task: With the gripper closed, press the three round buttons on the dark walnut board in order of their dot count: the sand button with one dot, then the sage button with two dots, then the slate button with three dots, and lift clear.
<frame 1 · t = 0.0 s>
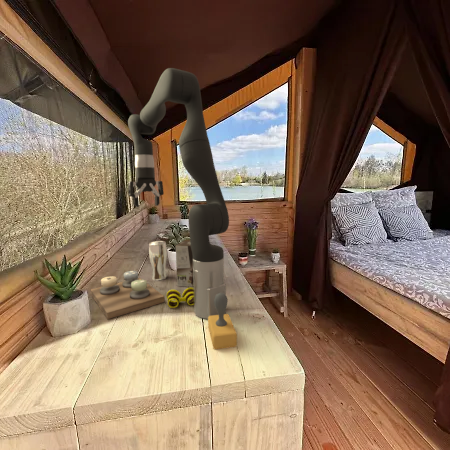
hand: (147, 206, 114), 29 cm above the counter, tool pointing down, fingers open, 8 cm apart
button 2: (139, 285, 91), point 6 cm above the counter, slide at 0.0 cm
rubber stamp: (221, 337, 71), on the counter
coffee box: (188, 282, 108), on the counter
beer glass: (159, 278, 113), on the counter
button 3: (131, 275, 100), point 6 cm above the counter, slide at 0.0 cm
button 1: (109, 281, 95), point 6 cm above the counter, slide at 0.0 cm
opera glasses: (182, 304, 89), on the counter
button board: (126, 298, 94), on the counter
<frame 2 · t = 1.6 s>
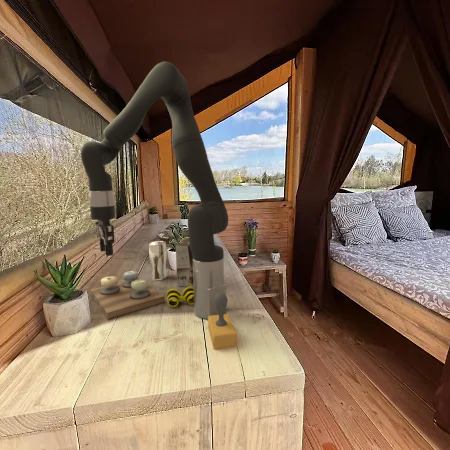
hand: (106, 253, 93), 16 cm above the counter, tool pointing down, fingers open, 6 cm apart
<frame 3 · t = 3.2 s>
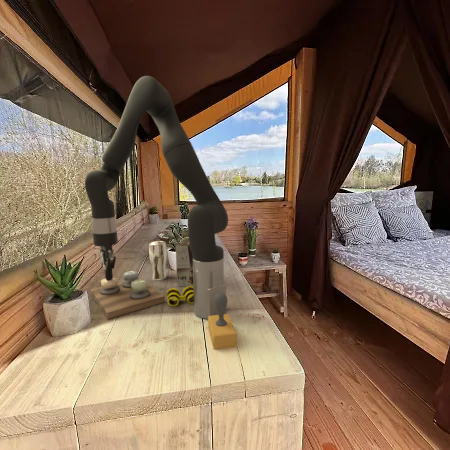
hand: (109, 279, 95), 6 cm above the counter, tool pointing down, fingers closed
button 1: (109, 282, 95), point 5 cm above the counter, slide at 0.4 cm, touching gripper
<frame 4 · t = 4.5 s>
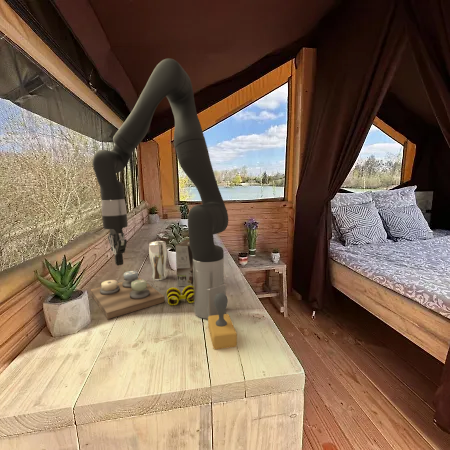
hand: (119, 264, 91), 12 cm above the counter, tool pointing down, fingers closed
button 1: (109, 285, 95), point 4 cm above the counter, slide at 1.4 cm
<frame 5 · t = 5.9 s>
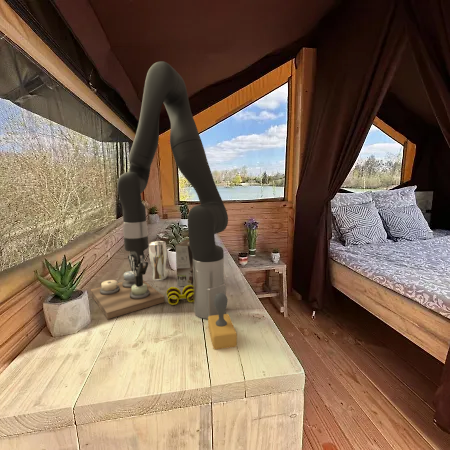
hand: (139, 285, 91), 5 cm above the counter, tool pointing down, fingers closed
button 2: (139, 288, 91), point 4 cm above the counter, slide at 1.3 cm, touching gripper
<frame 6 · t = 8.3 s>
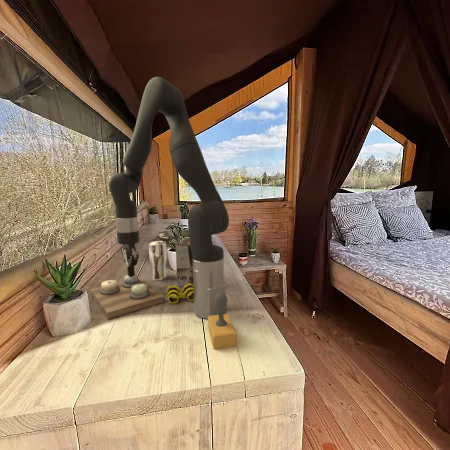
hand: (131, 275, 100), 5 cm above the counter, tool pointing down, fingers closed
button 2: (139, 289, 91), point 4 cm above the counter, slide at 1.4 cm
button 3: (131, 278, 100), point 4 cm above the counter, slide at 1.2 cm, touching gripper
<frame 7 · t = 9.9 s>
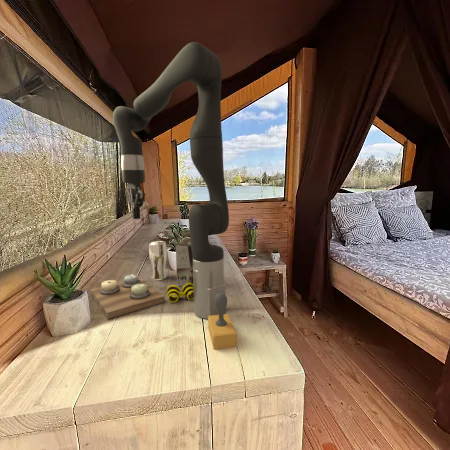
hand: (136, 218, 97), 27 cm above the counter, tool pointing down, fingers closed
button 3: (131, 279, 100), point 4 cm above the counter, slide at 1.4 cm
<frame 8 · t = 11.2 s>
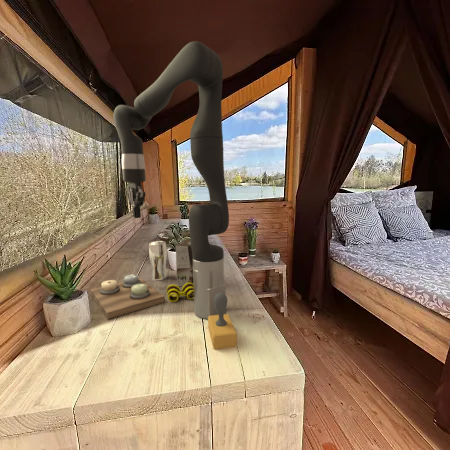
hand: (137, 217, 97), 27 cm above the counter, tool pointing down, fingers closed
at the end: button 1 slide at 1.4 cm; button 2 slide at 1.4 cm; button 3 slide at 1.4 cm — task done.
